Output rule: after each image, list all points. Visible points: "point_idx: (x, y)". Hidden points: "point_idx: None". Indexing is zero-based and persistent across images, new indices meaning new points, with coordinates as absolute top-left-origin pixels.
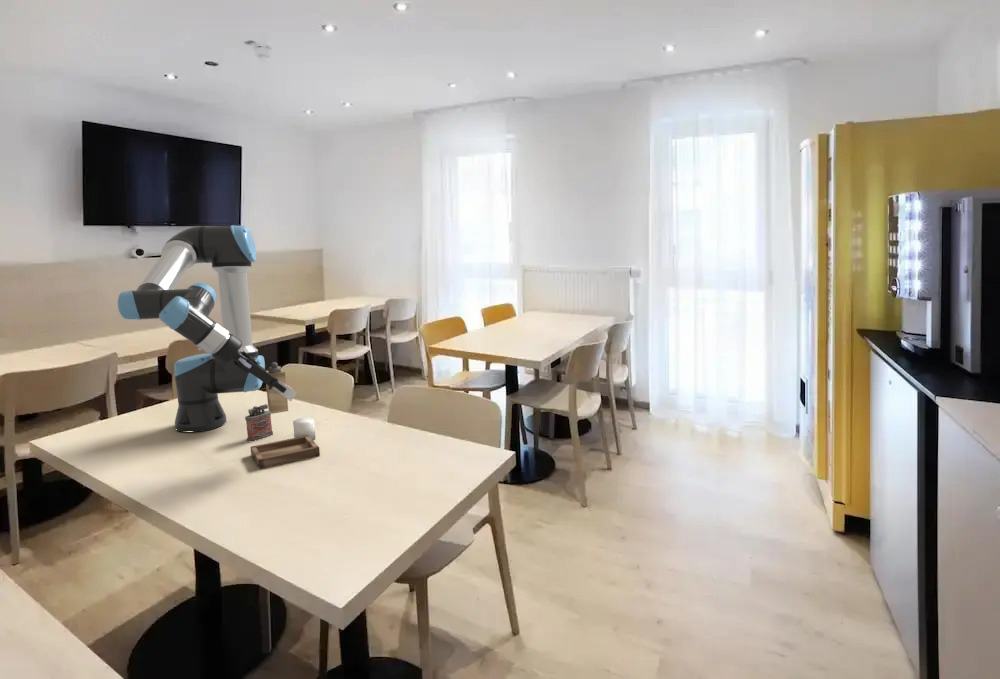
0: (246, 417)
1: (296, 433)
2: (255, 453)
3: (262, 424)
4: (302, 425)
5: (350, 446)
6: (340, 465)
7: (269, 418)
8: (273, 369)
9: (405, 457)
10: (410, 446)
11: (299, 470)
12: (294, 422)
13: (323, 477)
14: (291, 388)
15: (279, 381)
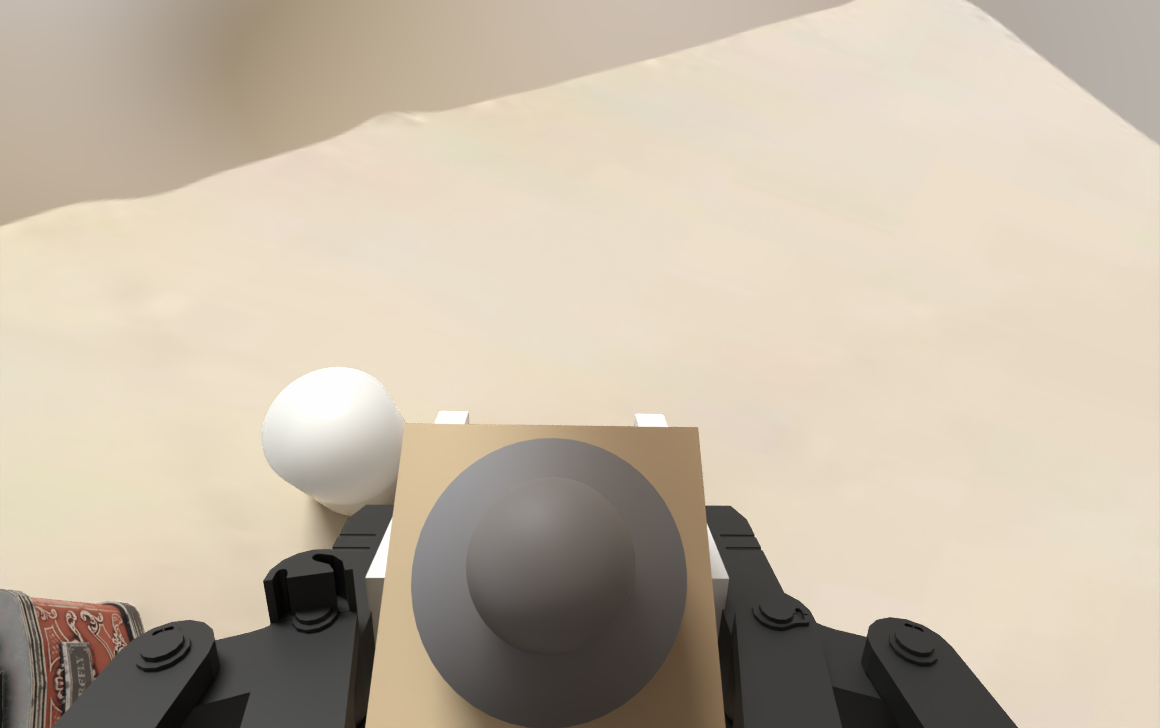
0: None
1: (369, 497)
2: None
3: (87, 676)
4: (390, 450)
5: (607, 315)
6: (816, 416)
7: (51, 612)
8: (674, 621)
9: (841, 198)
10: (738, 148)
11: (794, 597)
12: (321, 482)
13: (926, 518)
14: (463, 421)
15: (717, 566)
